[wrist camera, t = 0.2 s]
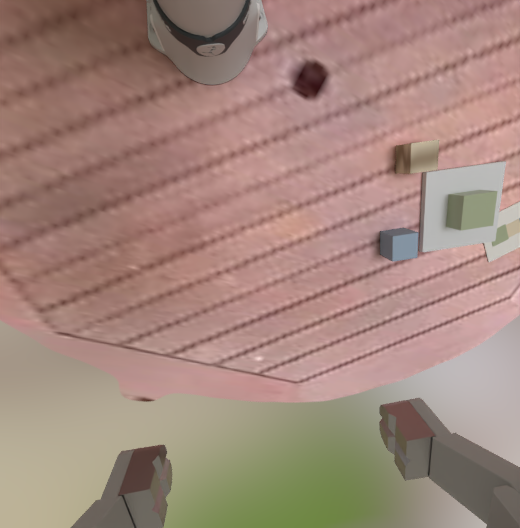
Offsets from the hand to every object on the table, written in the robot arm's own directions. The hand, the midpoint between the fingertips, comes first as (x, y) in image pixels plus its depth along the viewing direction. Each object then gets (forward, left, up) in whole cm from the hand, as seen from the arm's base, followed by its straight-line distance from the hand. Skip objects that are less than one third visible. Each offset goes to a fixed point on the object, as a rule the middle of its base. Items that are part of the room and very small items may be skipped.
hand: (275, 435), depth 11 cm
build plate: (+3, +45, -48) cm, 65 cm away
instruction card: (+9, +58, -48) cm, 75 cm away
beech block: (-8, +34, -48) cm, 59 cm away
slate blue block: (+8, +31, -48) cm, 57 cm away
